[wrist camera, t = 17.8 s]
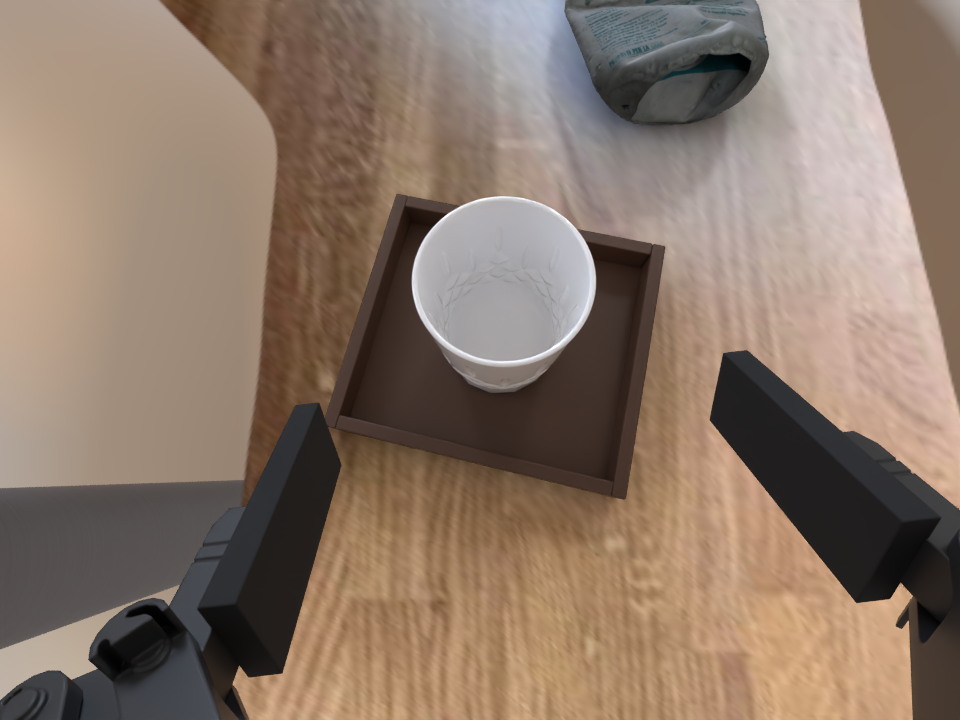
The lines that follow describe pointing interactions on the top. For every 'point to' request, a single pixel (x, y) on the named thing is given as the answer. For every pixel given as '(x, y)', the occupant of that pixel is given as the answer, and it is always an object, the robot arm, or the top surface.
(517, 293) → the white cup
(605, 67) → the grey hollow crumpled part
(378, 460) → the top surface
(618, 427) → the serving tray
